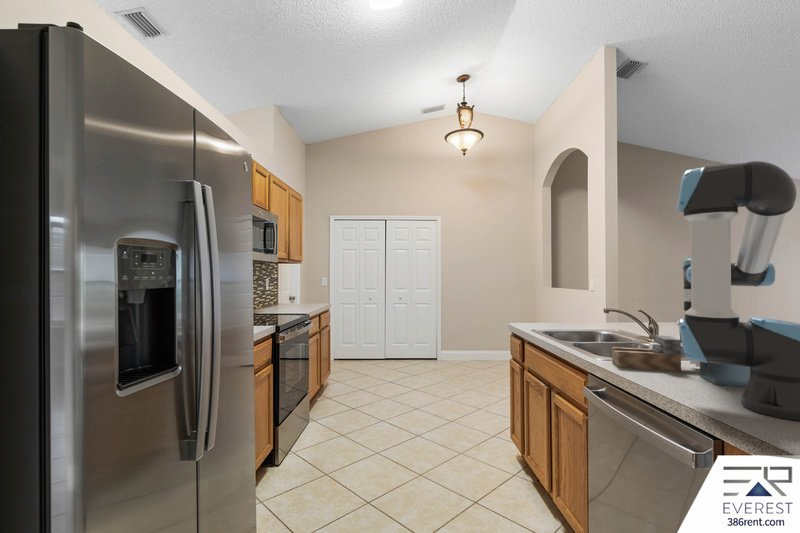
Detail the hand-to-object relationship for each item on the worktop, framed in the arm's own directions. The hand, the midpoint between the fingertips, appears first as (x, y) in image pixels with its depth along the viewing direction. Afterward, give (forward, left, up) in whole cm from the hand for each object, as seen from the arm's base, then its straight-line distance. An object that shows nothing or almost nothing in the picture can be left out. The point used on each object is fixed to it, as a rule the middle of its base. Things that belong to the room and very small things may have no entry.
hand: (697, 365), depth 137 cm
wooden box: (0, +17, -2) cm, 17 cm away
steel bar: (0, +7, +4) cm, 8 cm away
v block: (-16, -1, -2) cm, 16 cm away
